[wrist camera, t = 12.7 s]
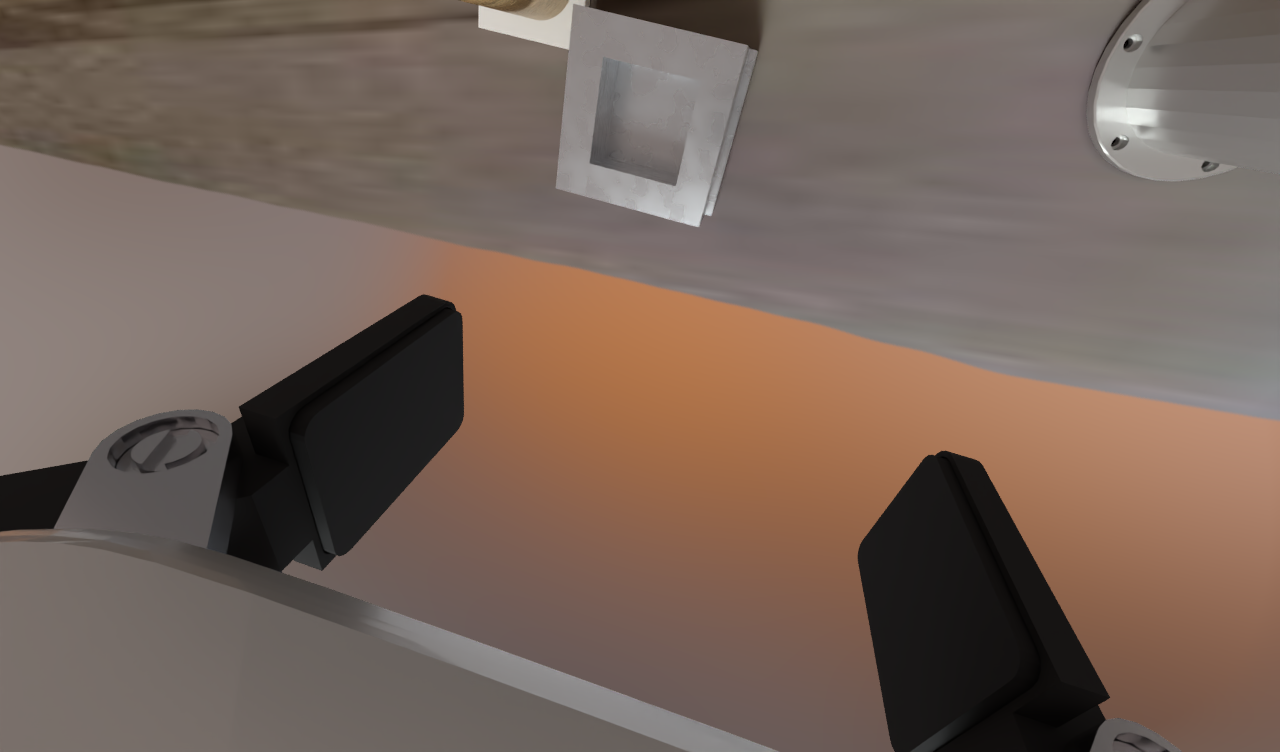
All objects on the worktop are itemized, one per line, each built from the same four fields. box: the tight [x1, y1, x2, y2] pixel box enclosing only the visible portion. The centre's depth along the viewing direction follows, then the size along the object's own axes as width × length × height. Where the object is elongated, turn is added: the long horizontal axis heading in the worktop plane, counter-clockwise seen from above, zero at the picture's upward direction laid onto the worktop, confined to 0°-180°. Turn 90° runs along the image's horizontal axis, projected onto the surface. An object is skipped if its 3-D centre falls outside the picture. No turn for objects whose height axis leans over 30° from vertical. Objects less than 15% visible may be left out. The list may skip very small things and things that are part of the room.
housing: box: [556, 4, 758, 227], centre depth 34 cm, size 12×11×6 cm
